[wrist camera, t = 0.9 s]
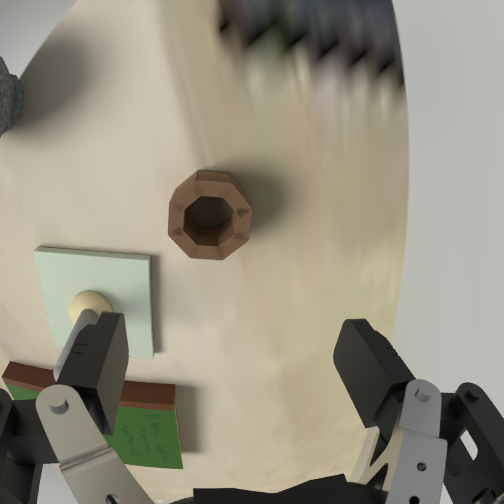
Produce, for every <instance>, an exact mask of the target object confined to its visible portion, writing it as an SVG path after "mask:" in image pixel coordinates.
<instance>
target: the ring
mask: <svg viewBox="0 0 504 504" xmlns="http://www.w3.org/2000/svg"><path fill="white" fill-rule="evenodd" d="M200 196H210V197H222V198H224V199H225V200H226V202H227V203H228V204H229V205H230V206H231V207H232V211H231V217H230V218H228V219H227V220H226V221H225V222H223V223H222V224H221V225H220V226H218V227H217V228H212V227H199V226H198V225H197V224H196V223H195V222H194V221H193V220H192V219H191V218H190V217H189V215H188V214H187V207H188V206H189V205H190V204H192V203H193V202H194V201H195V200H197V199H198V198H199V197H200ZM252 212H253V209H252V207H251V204H250V202H249V200H248V198H247V195H246V194H245V193H244V191H243V190H242V189H241V188H240V187H239V185H238V184H237V183H236V182H235V180H234V179H233V178H232V177H231V176H230V174H229V173H226V172H215V171H203V170H198V171H196V172H195V173H194V174H193V175H192V176H190V177H189V178H188V179H187V180H186V181H184V182H183V183H182V184H181V185H180V186H178V187H177V188H176V189H175V191H174V194H173V196H172V198H171V200H170V203H169V220H168V234H169V237H170V238H171V239H172V240H173V241H174V242H175V243H176V244H177V245H178V246H179V247H180V248H181V249H182V250H183V251H184V252H185V253H186V254H187V255H188V256H189V257H191V258H196V259H211V260H222V259H223V260H224V259H225V258H226V257H228V256H229V255H230V254H231V253H233V252H234V251H235V250H237V249H238V248H239V247H241V246H242V245H243V244H245V243H246V242H247V241H248V239H249V232H250V226H251V219H252Z"/></svg>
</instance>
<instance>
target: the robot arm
mask: <svg viewBox="0 0 504 504" xmlns="http://www.w3.org/2000/svg"><path fill="white" fill-rule="evenodd" d="M128 359H129V347H128V340H127V332H126V324H125V317H124V314H123V313H118V312H107V311H102V313H101V315H100V317H99V319H98V321H97V324H96V325H94V324H87V325H86V326H85V327H84V328H83V329H82V330H81V331H79V332H78V334H77V337H76V339H75V341H74V345H72V347H71V349H70V353H69V354H68V356H67V358H66V361H65V363H64V365H63V368H62V370H61V372H60V375H59V377H58V379H57V382H56V384H55V385H52V386H49V387H47V388H45V389H44V390H43V391H41V393H40V394H39V395H38V397H37V399H28V400H12V399H11V397H10V395H9V394H8V393H7V392H6V391H5V390H3V389H1V388H0V504H37V496H38V490H39V484H40V478H41V473H42V467H43V464H50V463H60V466H59V467H60V470H61V472H62V474H63V476H64V478H65V480H66V482H67V484H68V486H69V488H70V489H71V491H72V493H73V495H74V496H75V498H76V500H77V502H78V503H79V504H155V503H154V502H153V501H152V500H151V498H150V497H149V496H148V495H147V494H146V492H145V491H144V490H143V489H142V487H141V486H140V485H139V483H138V482H137V481H136V480H135V478H134V477H133V476H132V474H131V473H130V472H129V470H128V469H127V467H126V466H125V465H124V463H123V462H122V460H121V459H120V458H119V456H118V455H117V453H116V452H115V451H114V449H113V448H112V447H111V446H109V445H108V444H107V442H106V441H105V439H104V437H103V435H109V436H113V433H114V427H115V422H116V417H117V412H118V407H119V402H120V397H121V392H122V387H123V383H124V378H125V374H126V370H127V365H128ZM333 360H334V364H335V367H336V369H337V371H338V373H339V375H340V377H341V379H342V381H343V383H344V385H345V387H346V389H347V391H348V393H349V395H350V397H351V399H352V401H353V403H354V405H355V408H356V410H357V412H358V414H359V416H360V418H361V420H362V422H363V424H364V426H365V428H370V427H374V426H378V428H379V431H378V432H377V434H376V436H375V439H374V443H373V446H372V449H371V452H370V455H369V458H368V461H367V464H366V467H365V469H364V472H363V474H362V476H361V478H360V479H359V481H358V482H357V483H355V482H347V480H346V478H345V475H344V474H339V475H334V476H329V477H324V478H319V479H313V480H309V481H307V482H304V483H302V484H299V485H297V486H294V487H291V488H289V489H286V490H283V491H281V492H278V493H265V492H256V491H249V490H242V489H236V488H193V494H194V497H189V498H184V499H181V500H178V501H175V502H173V503H170V504H439V503H440V497H441V492H442V485H443V483H444V485H445V487H446V489H447V491H448V493H449V496H450V498H451V500H452V502H453V504H504V418H503V417H502V416H501V414H500V413H499V411H498V410H497V408H496V407H495V406H494V404H493V403H492V401H491V400H490V399H489V397H488V396H487V395H486V393H485V392H484V391H483V389H481V388H480V387H479V386H477V385H475V384H473V383H469V382H466V383H463V384H461V385H460V386H459V387H458V389H457V390H456V392H455V393H440V391H439V390H438V388H437V387H436V386H435V385H433V384H432V383H430V382H428V381H426V380H421V379H416V378H415V377H414V376H413V374H412V373H411V371H410V370H409V369H408V367H407V366H406V364H405V363H404V362H403V360H402V359H401V357H400V356H398V353H397V352H396V351H395V349H393V347H392V345H391V344H390V342H389V341H388V340H387V338H386V337H384V336H383V335H382V334H380V333H379V332H378V331H374V329H373V328H372V327H371V325H370V324H369V323H368V321H367V320H366V319H346V320H345V321H344V323H343V325H342V328H341V331H340V334H339V337H338V340H337V343H336V346H335V349H334V354H333ZM466 430H467V431H468V432H469V434H470V436H471V437H472V439H473V440H474V442H475V444H476V446H477V449H478V454H477V457H476V458H475V459H474V460H472V458H471V456H470V454H469V452H468V451H467V449H466V447H465V445H464V444H463V442H462V440H461V438H460V437H461V436H462V434H463V433H464V432H465V431H466Z"/></svg>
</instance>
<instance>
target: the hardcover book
mask: <svg viewBox="0 0 504 504" xmlns="http://www.w3.org/2000/svg"><path fill="white" fill-rule="evenodd" d="M2 379H3V380H4V382H5V384H6V386H7V388H8V389H9V391H10V393H11V395H12V396H13V398H14V400H28V399H37V397H38V395H39V394H40V393H41V391H43V390H44V389H45V388H47V387H49V386H52V385H55V384H56V380H55V378H54V374H53V370H48V369H43V368H38V367H33V366H29V365H24V364H20V363H15V362H11V361H10V362H9V364H8V366H7V368H6V370H5V372H4V373H3V375H2ZM103 437H104V439H105V441H106V442H107V444H108V445H109V446H111V447H112V448H113V449H114V451H115V452H116V453H117V455H118V456H119V458H120V459H121V460H122V462H123V463H124V464H129V465H137V466H146V467H157V468H171V469H183V464H182V458H181V446H180V439H179V432H178V425H177V417H176V408H175V384H158V383H145V382H133V381H124V383H123V387H122V392H121V397H120V402H119V407H118V412H117V417H116V422H115V427H114V433H113V436H109V435H103Z"/></svg>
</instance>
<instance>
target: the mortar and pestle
mask: <svg viewBox="0 0 504 504" xmlns="http://www.w3.org/2000/svg"><path fill="white" fill-rule="evenodd" d="M22 100H23V88H22V86H21V84H20V82H19V80H18V78H17V76H16V75H12V74H10V73H9V71H8V69H7V67H6V64H5V63H4V60H3V58H2V57H0V137H1V135H2V133H4V132H6V131H8V130H10V129H11V128H12V127H13V125H14V123H15V121H16V120H17V118H18V116H19V114H20V113H21V111H22Z"/></svg>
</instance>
